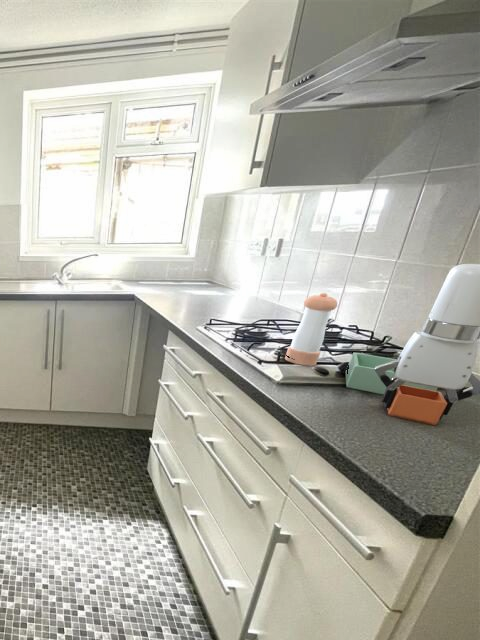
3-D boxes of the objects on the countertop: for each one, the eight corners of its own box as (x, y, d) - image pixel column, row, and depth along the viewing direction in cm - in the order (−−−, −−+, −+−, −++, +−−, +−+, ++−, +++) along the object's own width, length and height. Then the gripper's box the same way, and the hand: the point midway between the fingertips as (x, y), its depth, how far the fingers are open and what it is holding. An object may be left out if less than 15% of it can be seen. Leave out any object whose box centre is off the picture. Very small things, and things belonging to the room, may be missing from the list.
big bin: (421, 386, 102) (432, 365, 99) (429, 403, 93) (441, 381, 91) (345, 372, 110) (353, 352, 108) (346, 387, 101) (355, 365, 99)
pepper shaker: (322, 363, 116) (348, 294, 108) (305, 367, 113) (331, 297, 105) (294, 355, 122) (317, 289, 114) (278, 358, 119) (300, 291, 112)
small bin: (430, 413, 89) (440, 392, 87) (435, 425, 84) (447, 403, 82) (385, 403, 93) (395, 383, 91) (388, 415, 88) (398, 393, 86)
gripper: (513, 334, 79) (466, 417, 86) (388, 319, 88) (356, 394, 96) (526, 344, 73) (475, 431, 80) (392, 326, 83) (357, 405, 90)
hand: (411, 410), depth 88 cm, fingers closed on small bin, 7 cm apart
